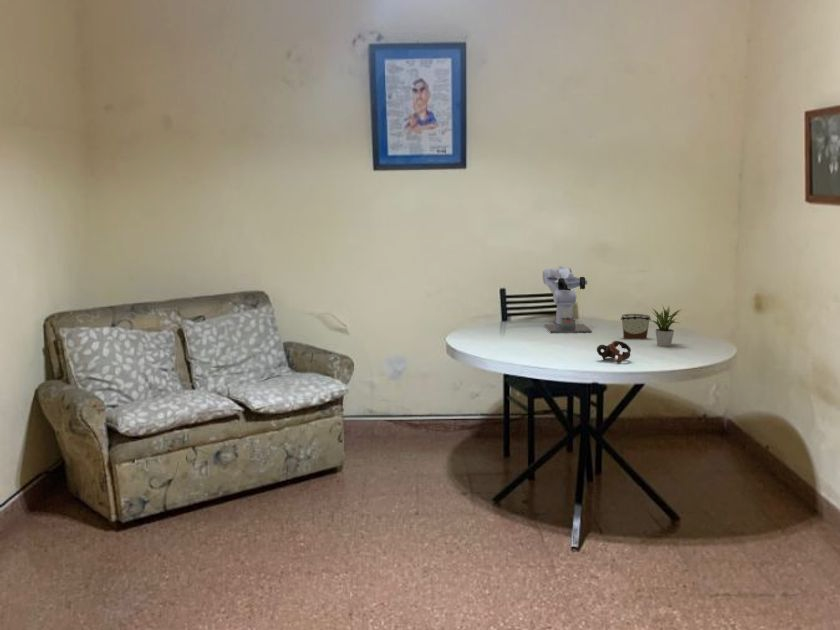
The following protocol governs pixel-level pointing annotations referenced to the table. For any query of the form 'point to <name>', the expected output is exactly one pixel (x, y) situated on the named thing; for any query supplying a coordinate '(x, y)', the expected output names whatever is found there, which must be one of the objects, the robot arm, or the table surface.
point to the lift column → (567, 313)
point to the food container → (635, 326)
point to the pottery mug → (614, 351)
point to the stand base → (567, 327)
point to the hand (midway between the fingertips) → (575, 287)
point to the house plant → (664, 327)
